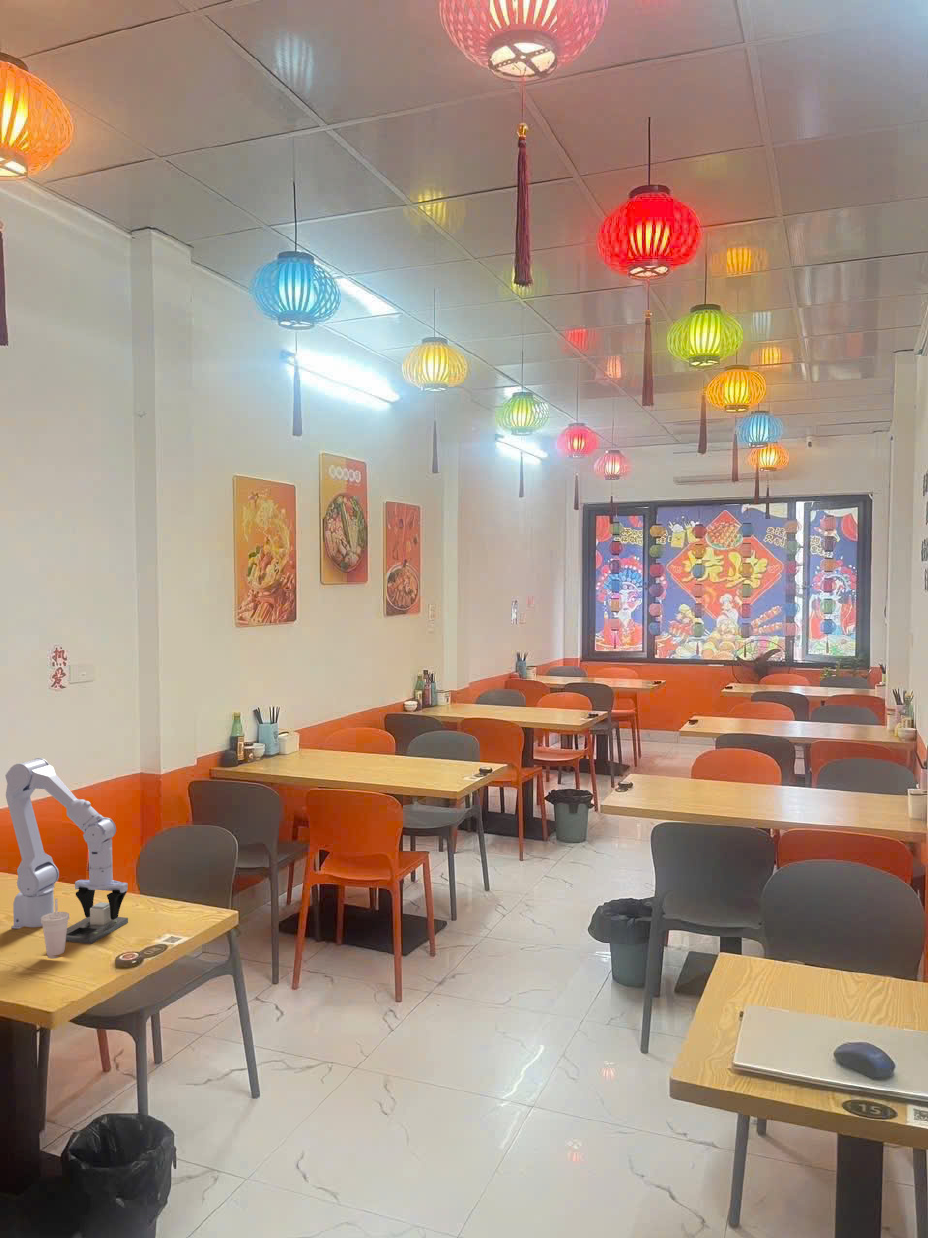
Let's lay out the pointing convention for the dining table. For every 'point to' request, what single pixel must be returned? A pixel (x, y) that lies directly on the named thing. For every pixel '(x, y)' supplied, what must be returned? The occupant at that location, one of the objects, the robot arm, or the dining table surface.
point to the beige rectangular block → (100, 914)
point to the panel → (92, 930)
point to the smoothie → (55, 931)
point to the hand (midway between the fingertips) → (101, 917)
